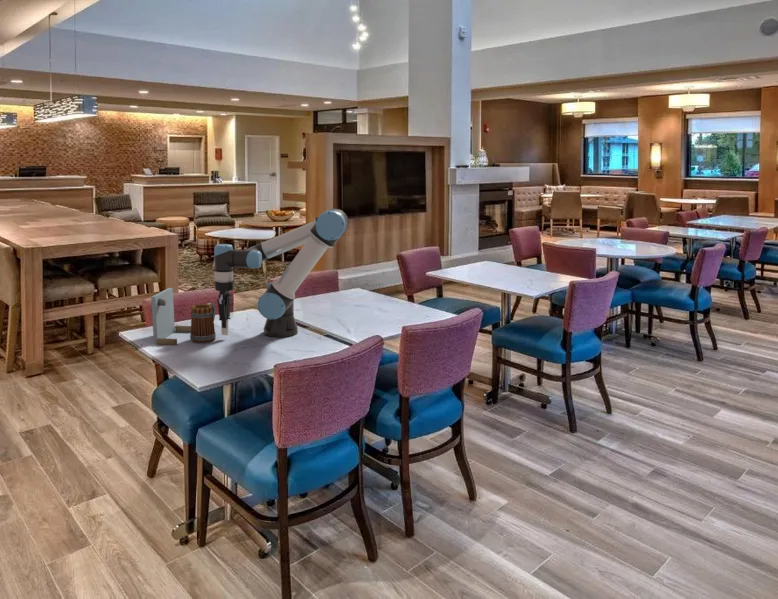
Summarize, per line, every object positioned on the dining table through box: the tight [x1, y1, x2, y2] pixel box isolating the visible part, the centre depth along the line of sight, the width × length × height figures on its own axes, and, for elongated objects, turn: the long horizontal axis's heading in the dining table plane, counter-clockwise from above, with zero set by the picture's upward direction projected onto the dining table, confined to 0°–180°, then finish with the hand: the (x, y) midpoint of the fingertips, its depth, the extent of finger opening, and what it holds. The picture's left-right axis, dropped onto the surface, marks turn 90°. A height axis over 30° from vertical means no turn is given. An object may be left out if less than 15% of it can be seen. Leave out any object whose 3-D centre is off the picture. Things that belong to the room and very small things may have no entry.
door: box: [150, 287, 176, 345], centre depth 269 cm, size 4×20×20 cm, turn 179°
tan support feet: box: [156, 325, 191, 346], centre depth 271 cm, size 8×22×2 cm, turn 179°
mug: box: [189, 302, 217, 344], centre depth 270 cm, size 16×11×15 cm
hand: (225, 334), depth 271 cm, fingers closed
